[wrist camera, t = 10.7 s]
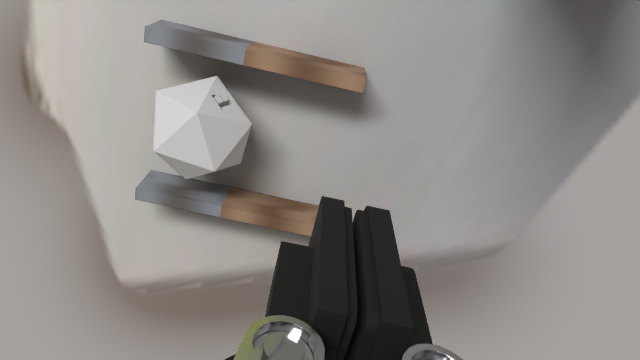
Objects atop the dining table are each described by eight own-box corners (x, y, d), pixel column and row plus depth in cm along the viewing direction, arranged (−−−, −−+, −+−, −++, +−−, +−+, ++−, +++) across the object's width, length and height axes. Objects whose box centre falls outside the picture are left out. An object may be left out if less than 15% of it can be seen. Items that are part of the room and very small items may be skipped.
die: (265, 151, 46) (273, 125, 37) (190, 202, 44) (179, 188, 35) (216, 84, 46) (213, 42, 37) (140, 132, 44) (115, 99, 35)
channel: (364, 67, 41) (366, 79, 38) (323, 217, 48) (322, 238, 45) (161, 19, 40) (144, 26, 37) (150, 180, 47) (135, 199, 43)
